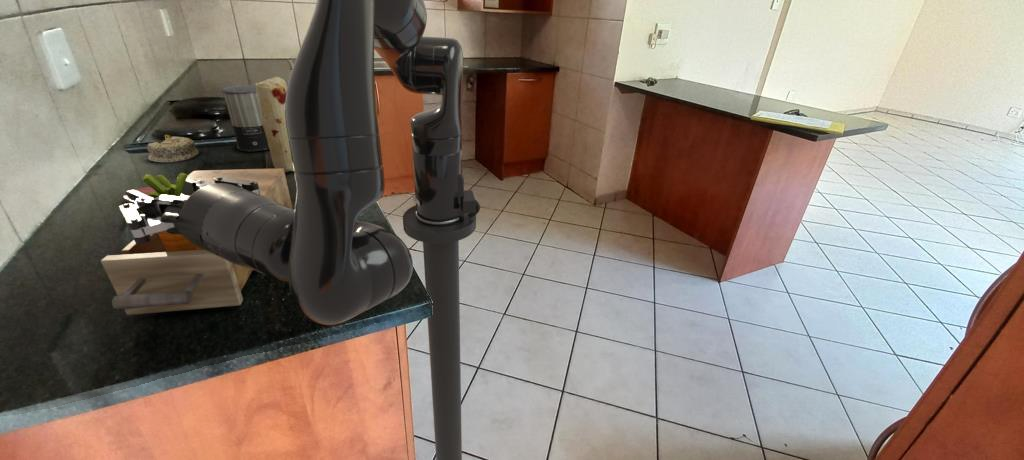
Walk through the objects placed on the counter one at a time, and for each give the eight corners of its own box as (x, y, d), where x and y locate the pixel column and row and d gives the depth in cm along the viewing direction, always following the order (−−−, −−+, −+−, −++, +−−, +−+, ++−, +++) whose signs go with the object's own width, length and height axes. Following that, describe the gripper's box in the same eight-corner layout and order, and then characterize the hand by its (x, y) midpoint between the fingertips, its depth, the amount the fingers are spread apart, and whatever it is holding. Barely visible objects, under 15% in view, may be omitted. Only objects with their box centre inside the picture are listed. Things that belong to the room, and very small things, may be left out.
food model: (303, 174, 96) (285, 81, 86) (270, 176, 93) (248, 82, 84) (306, 160, 104) (289, 74, 94) (275, 162, 101) (255, 74, 92)
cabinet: (269, 268, 63) (253, 210, 58) (163, 275, 60) (138, 215, 55) (294, 218, 77) (283, 168, 72) (210, 222, 74) (193, 170, 70)
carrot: (227, 267, 59) (193, 164, 52) (215, 287, 55) (176, 178, 48) (185, 271, 58) (145, 166, 51) (170, 292, 54) (124, 181, 47)
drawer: (226, 331, 50) (206, 276, 46) (101, 344, 47) (70, 286, 43) (273, 244, 67) (262, 199, 63) (184, 249, 65) (167, 203, 61)
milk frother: (241, 154, 105) (225, 93, 98) (226, 139, 115) (210, 82, 108) (301, 145, 114) (290, 87, 106) (282, 131, 124) (271, 78, 117)
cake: (209, 153, 106) (204, 132, 104) (176, 167, 98) (170, 144, 95) (172, 146, 107) (166, 125, 104) (136, 159, 98) (129, 137, 96)
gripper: (295, 173, 49) (208, 147, 56) (152, 219, 37) (66, 179, 44) (307, 230, 52) (224, 199, 59) (180, 289, 41) (96, 242, 48)
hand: (157, 191), depth 52 cm, fingers closed on carrot, 4 cm apart
